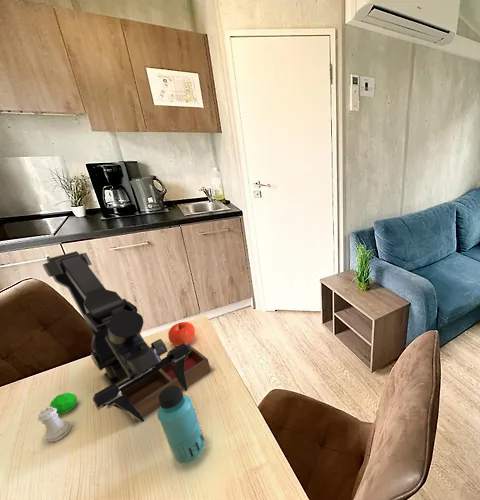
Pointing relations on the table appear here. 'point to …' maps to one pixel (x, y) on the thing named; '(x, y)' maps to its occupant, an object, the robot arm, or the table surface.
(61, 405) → the polyhedron
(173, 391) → the beverage bottle
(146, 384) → the divided wooden tray
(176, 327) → the apple
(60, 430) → the rook chess piece
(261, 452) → the table surface
